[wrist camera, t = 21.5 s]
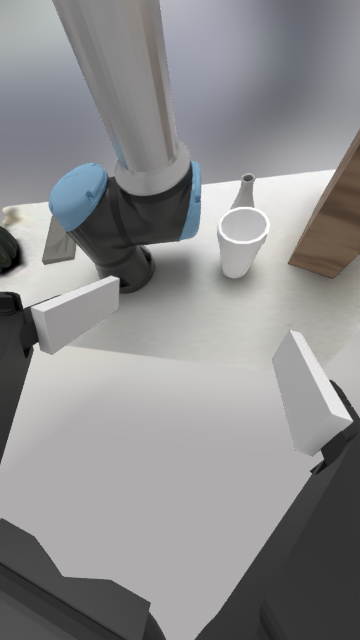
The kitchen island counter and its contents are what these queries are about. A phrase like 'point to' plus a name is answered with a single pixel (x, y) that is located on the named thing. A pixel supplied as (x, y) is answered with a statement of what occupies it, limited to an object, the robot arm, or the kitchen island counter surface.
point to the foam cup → (241, 239)
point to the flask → (245, 192)
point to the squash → (6, 248)
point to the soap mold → (58, 244)
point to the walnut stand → (334, 221)
